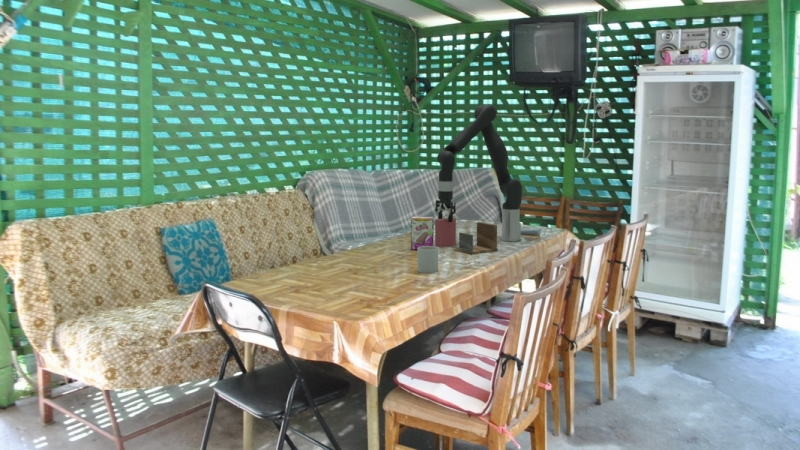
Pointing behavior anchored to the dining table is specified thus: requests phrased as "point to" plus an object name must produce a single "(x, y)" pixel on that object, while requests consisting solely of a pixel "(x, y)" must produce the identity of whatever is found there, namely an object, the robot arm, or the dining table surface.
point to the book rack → (479, 240)
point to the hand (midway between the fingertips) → (445, 221)
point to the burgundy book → (445, 232)
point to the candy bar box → (422, 232)
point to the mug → (427, 259)
